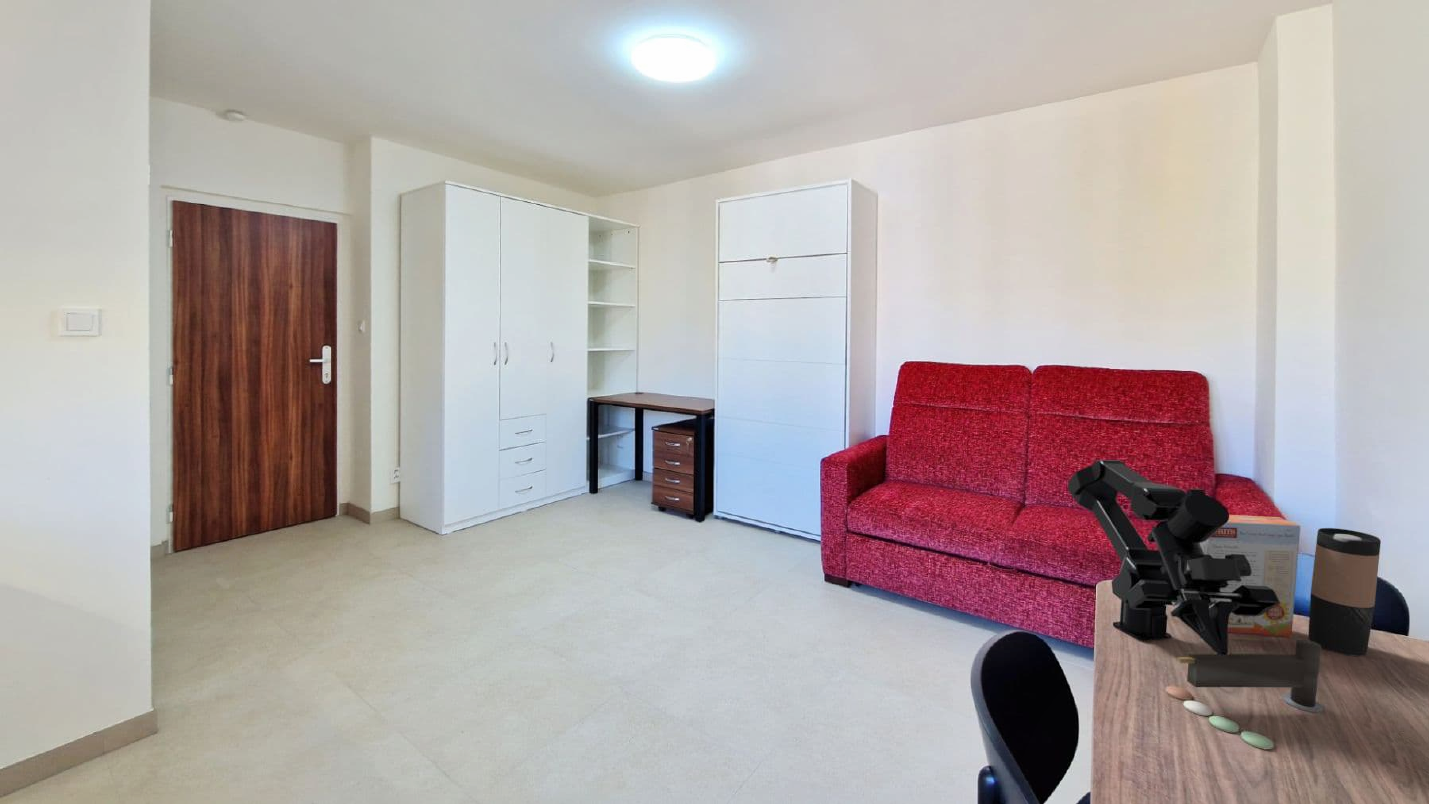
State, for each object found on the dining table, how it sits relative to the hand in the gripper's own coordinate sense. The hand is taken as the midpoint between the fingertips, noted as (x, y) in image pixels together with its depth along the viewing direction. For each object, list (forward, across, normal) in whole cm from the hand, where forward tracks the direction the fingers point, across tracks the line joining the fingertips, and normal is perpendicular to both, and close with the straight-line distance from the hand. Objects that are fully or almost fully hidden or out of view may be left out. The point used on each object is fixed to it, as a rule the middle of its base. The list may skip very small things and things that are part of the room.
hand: (1223, 654), depth 88 cm
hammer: (+5, +3, +4) cm, 7 cm away
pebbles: (+6, +4, +4) cm, 8 cm away
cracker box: (-13, +19, +23) cm, 32 cm away
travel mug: (-10, +31, +20) cm, 38 cm away
